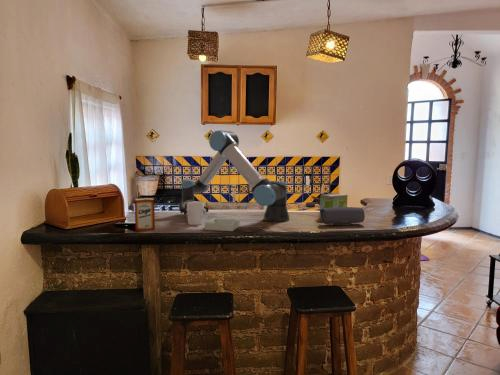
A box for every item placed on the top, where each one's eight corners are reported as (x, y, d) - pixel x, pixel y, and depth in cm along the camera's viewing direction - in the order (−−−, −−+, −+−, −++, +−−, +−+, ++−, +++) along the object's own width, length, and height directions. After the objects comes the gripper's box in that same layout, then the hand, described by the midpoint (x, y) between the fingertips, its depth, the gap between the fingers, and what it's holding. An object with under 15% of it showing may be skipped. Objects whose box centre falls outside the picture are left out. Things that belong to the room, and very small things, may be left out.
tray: (240, 225, 197) (240, 219, 197) (232, 231, 183) (232, 224, 183) (214, 224, 201) (214, 217, 201) (204, 229, 186) (204, 222, 186)
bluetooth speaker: (357, 222, 207) (357, 205, 206) (364, 225, 198) (365, 208, 197) (319, 223, 203) (319, 206, 202) (325, 227, 194) (326, 208, 193)
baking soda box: (135, 230, 183) (134, 199, 181) (135, 228, 189) (134, 198, 187) (154, 229, 185) (154, 199, 184) (154, 227, 192) (153, 197, 190)
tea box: (332, 220, 212) (333, 196, 211) (319, 218, 220) (319, 194, 218) (347, 218, 222) (347, 194, 221) (333, 215, 230) (334, 192, 228)
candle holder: (183, 224, 199) (183, 203, 198) (192, 221, 208) (192, 200, 207) (198, 225, 195) (198, 204, 194) (207, 222, 205) (207, 201, 203)
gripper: (207, 211, 222) (216, 218, 201) (172, 213, 215) (177, 220, 194) (207, 199, 221) (216, 204, 200) (172, 201, 214) (177, 206, 193)
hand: (197, 212), depth 197 cm, fingers closed on candle holder, 9 cm apart
